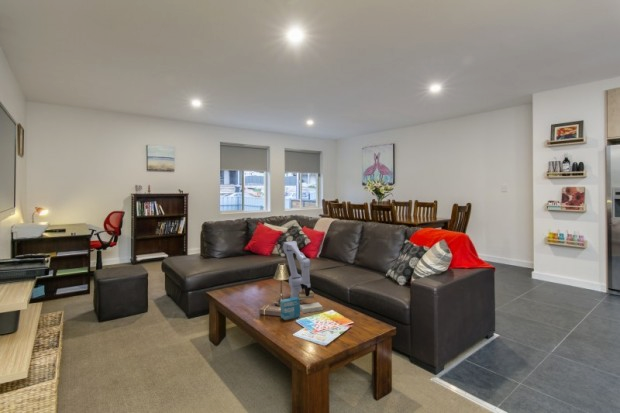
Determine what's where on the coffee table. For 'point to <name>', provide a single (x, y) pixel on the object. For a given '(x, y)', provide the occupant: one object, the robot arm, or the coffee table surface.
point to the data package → (290, 308)
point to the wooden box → (303, 296)
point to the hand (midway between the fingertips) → (306, 294)
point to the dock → (311, 307)
